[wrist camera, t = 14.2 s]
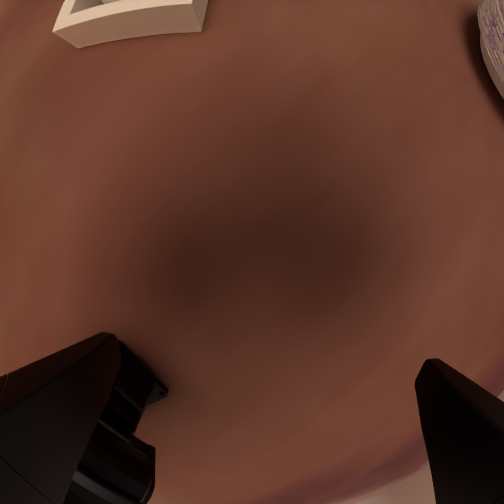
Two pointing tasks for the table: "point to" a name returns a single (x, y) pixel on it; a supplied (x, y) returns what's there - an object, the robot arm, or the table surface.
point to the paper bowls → (493, 40)
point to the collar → (126, 19)
